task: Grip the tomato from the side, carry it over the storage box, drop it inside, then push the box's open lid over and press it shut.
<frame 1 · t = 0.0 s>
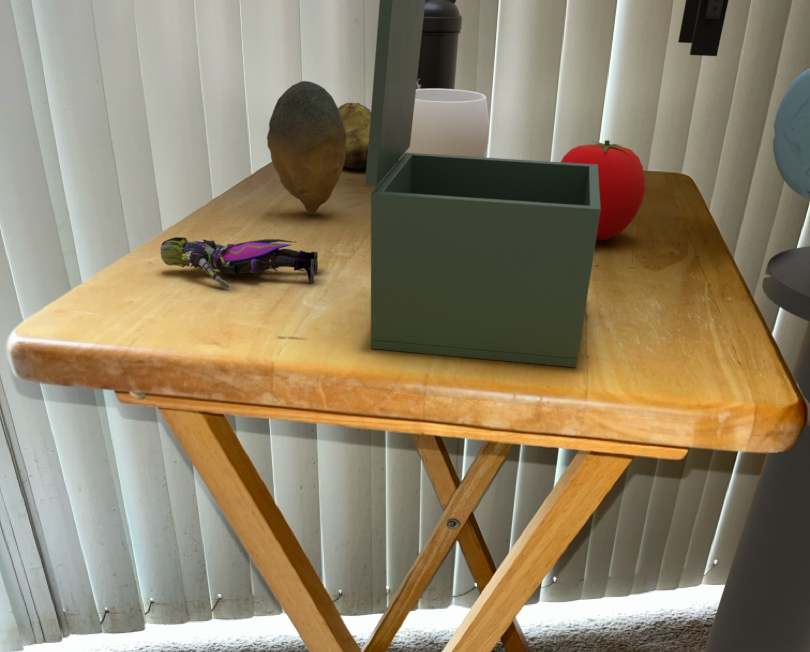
hand: (696, 49, 94), 19 cm above the table, tool pointing down, fingers open, 13 cm apart
cup: (436, 237, 100), on the table
potato: (353, 165, 131), on the table
water bottle: (422, 162, 134), on the table
tomato: (588, 239, 101), on the table
storage box: (480, 324, 78), on the table
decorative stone: (309, 216, 107), on the table
character figure: (239, 276, 87), on the table
lid: (401, 39, 66), point 22 cm above the table, hinge at 85.0°
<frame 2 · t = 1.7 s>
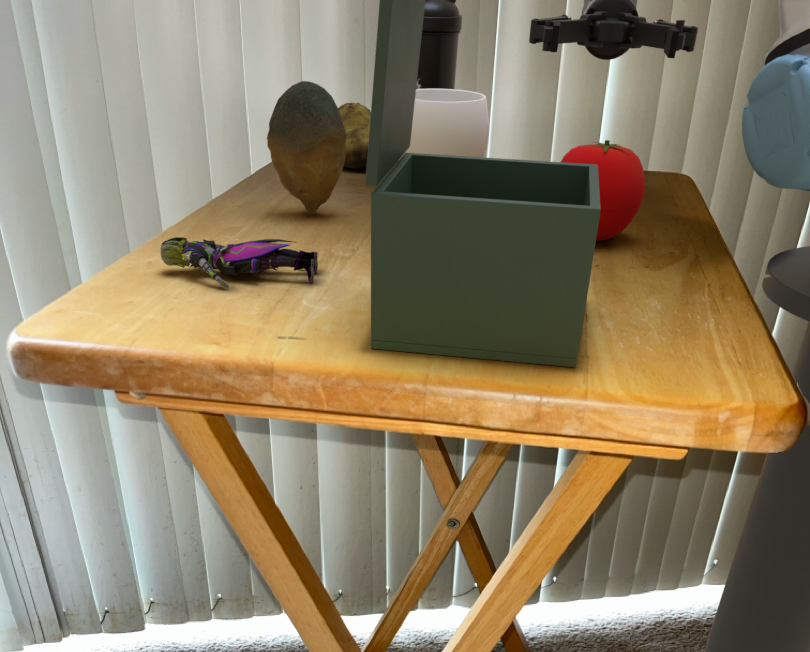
hand: (613, 41, 98), 20 cm above the table, tool horizontal, fingers open, 13 cm apart
nothing on the table moved.
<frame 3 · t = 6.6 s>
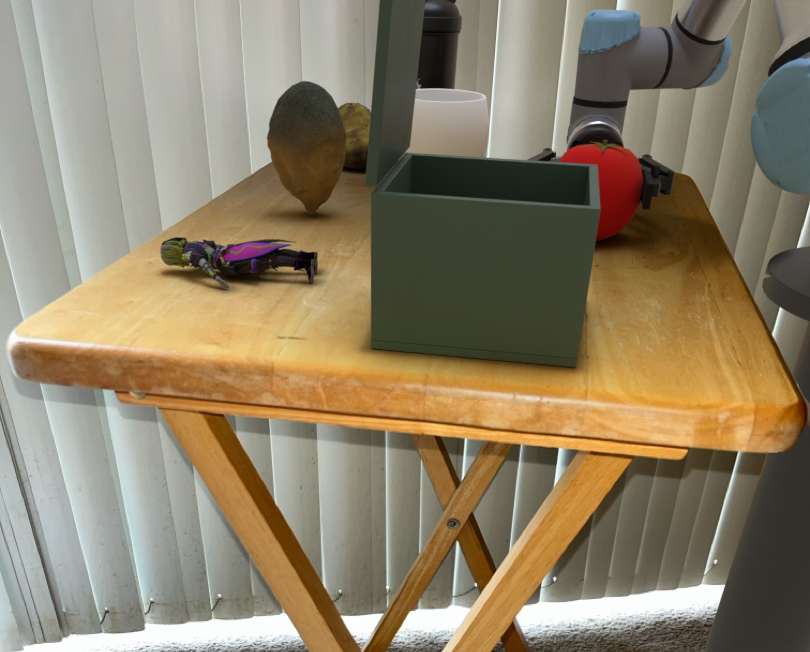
hand: (597, 193, 95), 6 cm above the table, tool horizontal, fingers closed on tomato, 11 cm apart
tomato: (586, 239, 101), on the table, touching gripper
everything else where it was.
when the fingers open (17 cm above the table, at t = 18.7 s): tomato drops 10 cm, resting on storage box.
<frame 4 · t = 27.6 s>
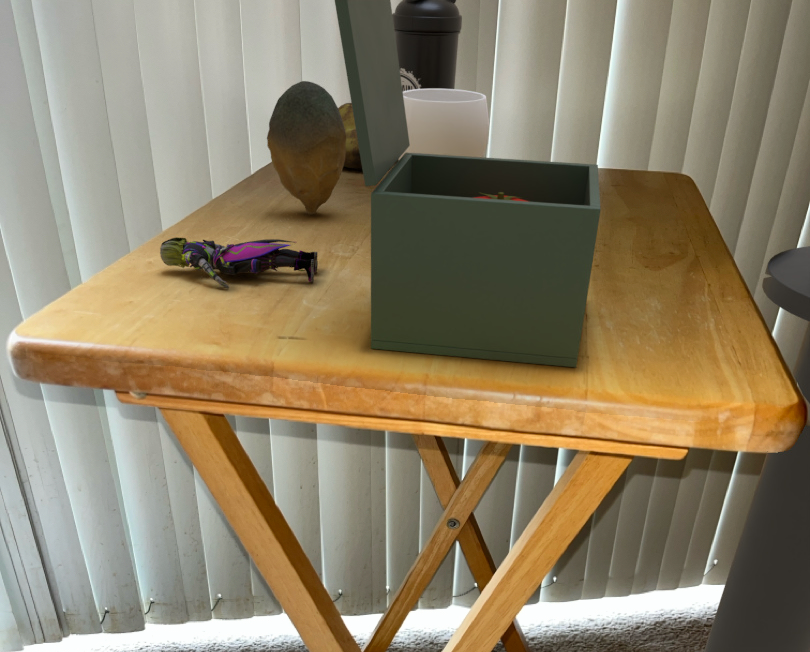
tomato: (484, 317, 77), point 1 cm above the table, touching storage box
lid: (371, 39, 66), point 22 cm above the table, hinge at 100.0°, touching gripper
everything else where it was.
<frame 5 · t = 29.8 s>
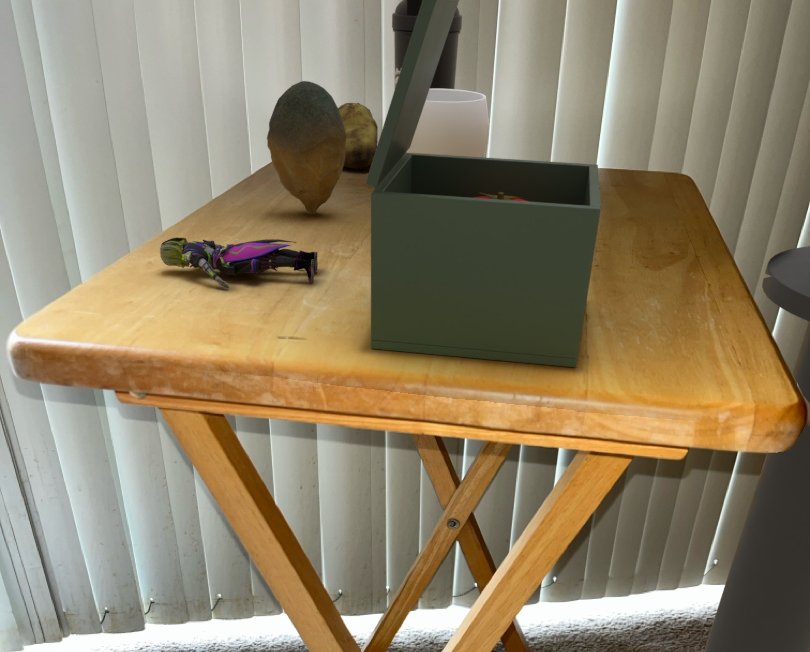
hand: (419, 14, 64), 24 cm above the table, tool pointing down, fingers closed
lid: (427, 47, 66), point 22 cm above the table, hinge at 71.6°
everything else where it was.
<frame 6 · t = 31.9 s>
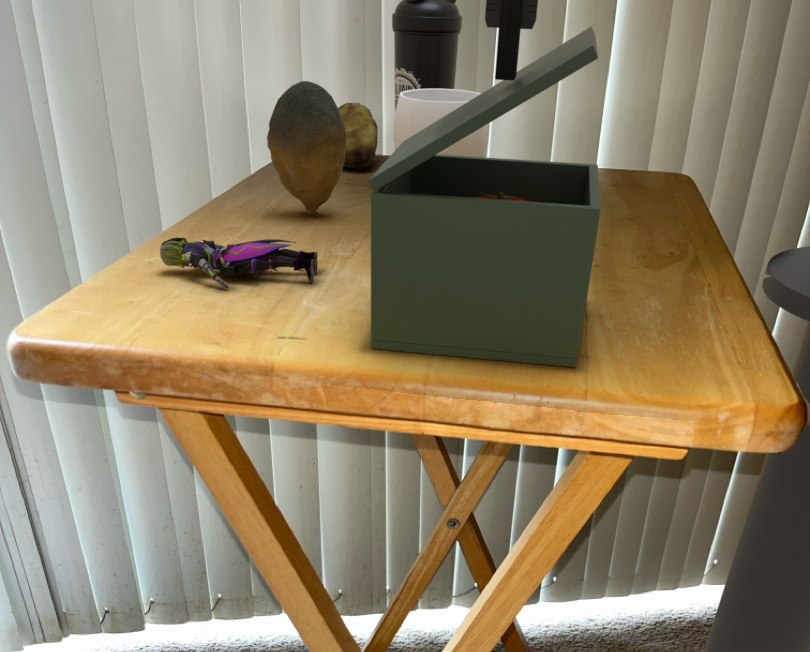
hand: (505, 77, 66), 20 cm above the table, tool pointing down, fingers closed
lid: (486, 106, 67), point 18 cm above the table, hinge at 31.7°, touching gripper
everything else where it was.
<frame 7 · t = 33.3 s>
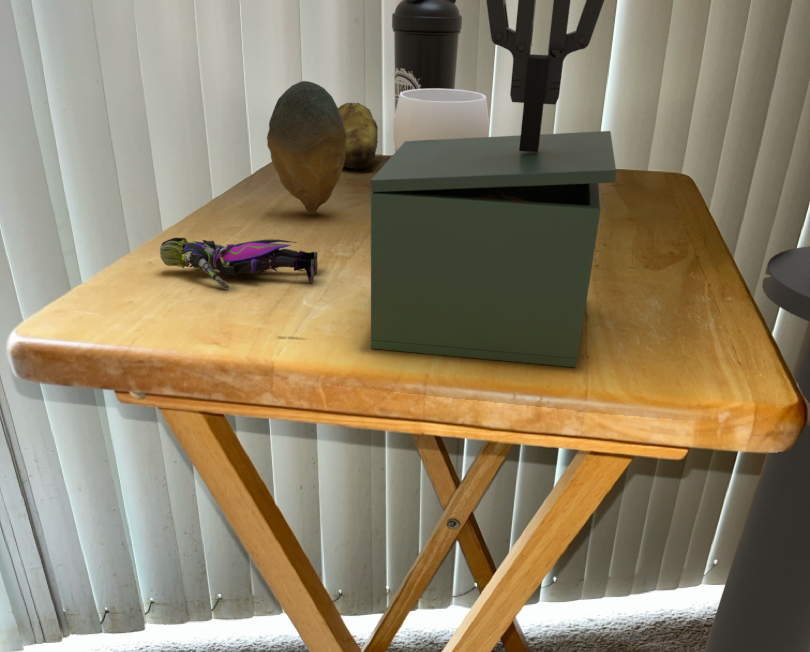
hand: (529, 147, 68), 15 cm above the table, tool pointing down, fingers closed
lid: (498, 159, 69), point 14 cm above the table, hinge at 5.7°
everything else where it was.
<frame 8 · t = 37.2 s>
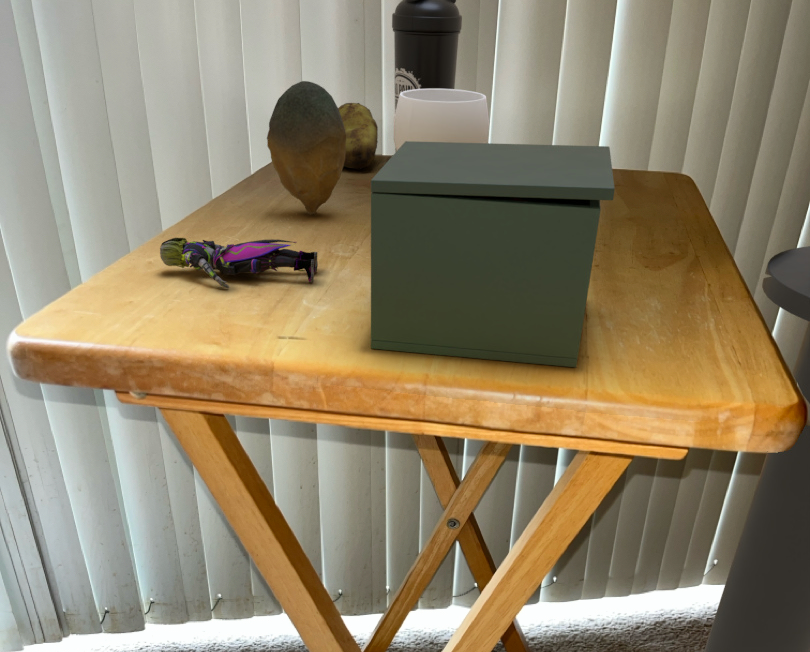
lid: (498, 167, 70), point 14 cm above the table, hinge at 1.8°
everything else where it was.
at the end: tomato inside the target area in the storage box (0.4 cm from its centre), point 0.6 cm above the storage box's base; lid at +2° (first picture: +85°) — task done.
